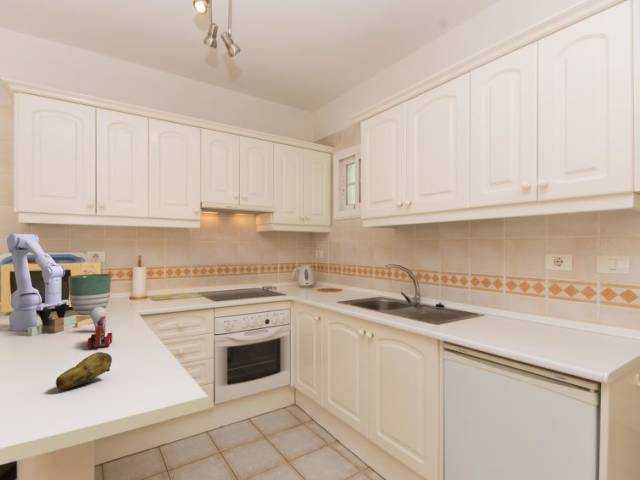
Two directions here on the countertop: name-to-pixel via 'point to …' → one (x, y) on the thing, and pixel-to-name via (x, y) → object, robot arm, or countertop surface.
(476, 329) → the countertop surface
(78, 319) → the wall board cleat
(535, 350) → the countertop surface
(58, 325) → the cabinet block
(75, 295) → the planter
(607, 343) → the countertop surface
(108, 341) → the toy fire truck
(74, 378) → the potato
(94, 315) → the lightbulb
